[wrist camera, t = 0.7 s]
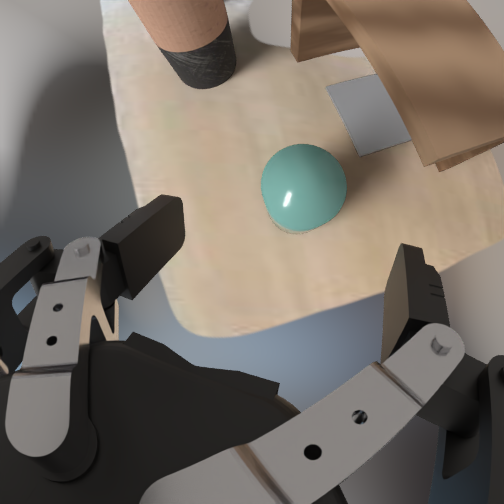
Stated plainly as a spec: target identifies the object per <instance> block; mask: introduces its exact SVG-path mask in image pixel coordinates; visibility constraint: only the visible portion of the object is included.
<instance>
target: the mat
mask: <svg viewBox="0 0 504 504" xmlns="http://www.w3.org/2000/svg"><path fill="white" fill-rule="evenodd" d="M325 89H326V90H327V92H328V94H329V96H330V98H331V100H332V102H333V104H334V105H335V107H336V109H337V111H338V113H339V115H340V117H341V119H342V121H343V123H344V125H345V127H346V129H347V131H348V134H349V136H350V138H351V140H352V142H353V144H354V146H355V148H356V151H357V153H358V155H359V157H362V156H365V155H368V154H371V153H374V152H377V151H380V150H383V149H386V148H389V147H392V146H395V145H398V144H401V143H404V142H408V141H411V140H412V139H411V137H410V135H409V133H408V131H407V128H406V126H405V124H404V122H403V120H402V118H401V116H400V114H399V113H398V111H397V109H396V107H395V105H394V103H393V101H392V99H391V98H390V96H389V94H388V92H387V90H386V89H385V87H384V85H383V83H382V82H381V80H380V78H379V77H378V75H377V74H374V75H370V76H366V77H361V78H357V79H353V80H349V81H345V82H342V83H338V84H334V85H330V86H327V87H326V88H325Z"/></svg>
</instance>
